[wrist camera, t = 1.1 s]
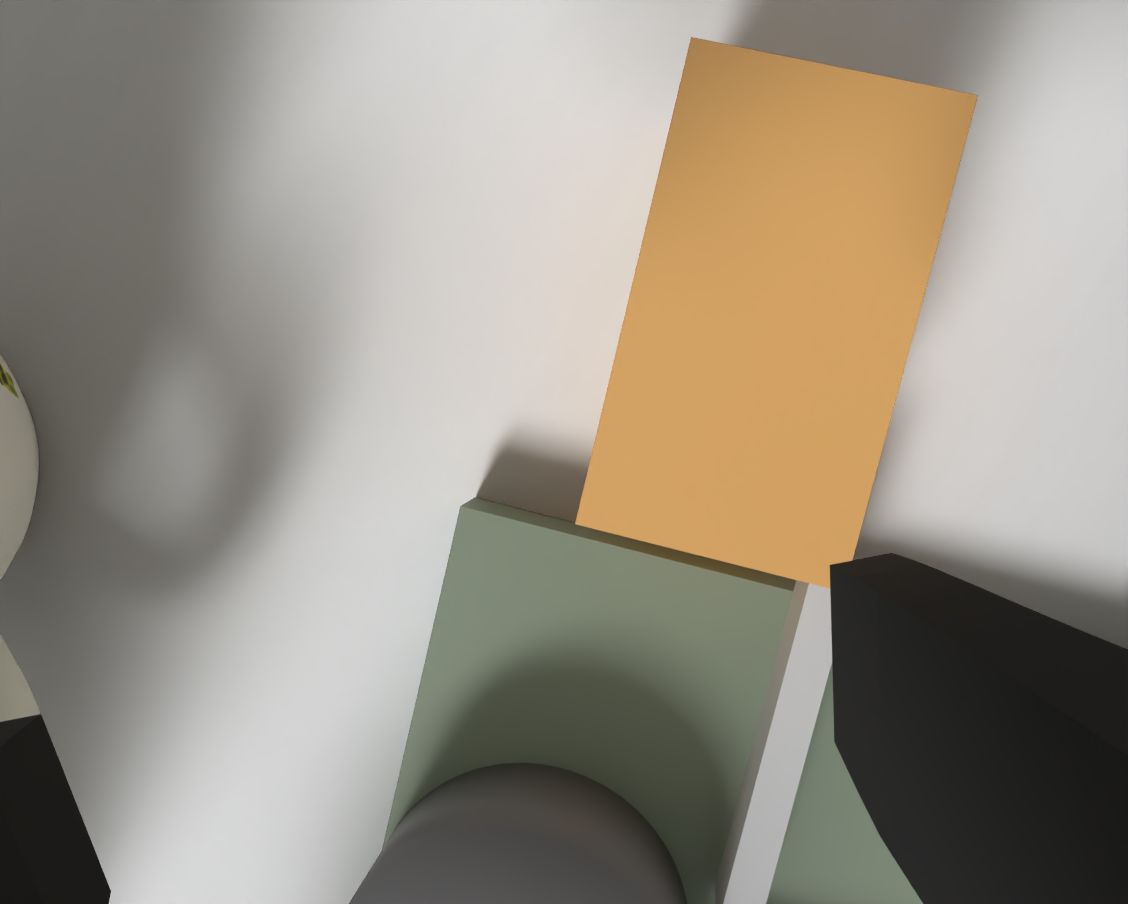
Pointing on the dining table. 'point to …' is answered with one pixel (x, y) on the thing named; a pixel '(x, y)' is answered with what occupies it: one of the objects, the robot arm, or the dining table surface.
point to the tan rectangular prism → (772, 309)
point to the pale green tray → (623, 733)
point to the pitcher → (15, 522)
